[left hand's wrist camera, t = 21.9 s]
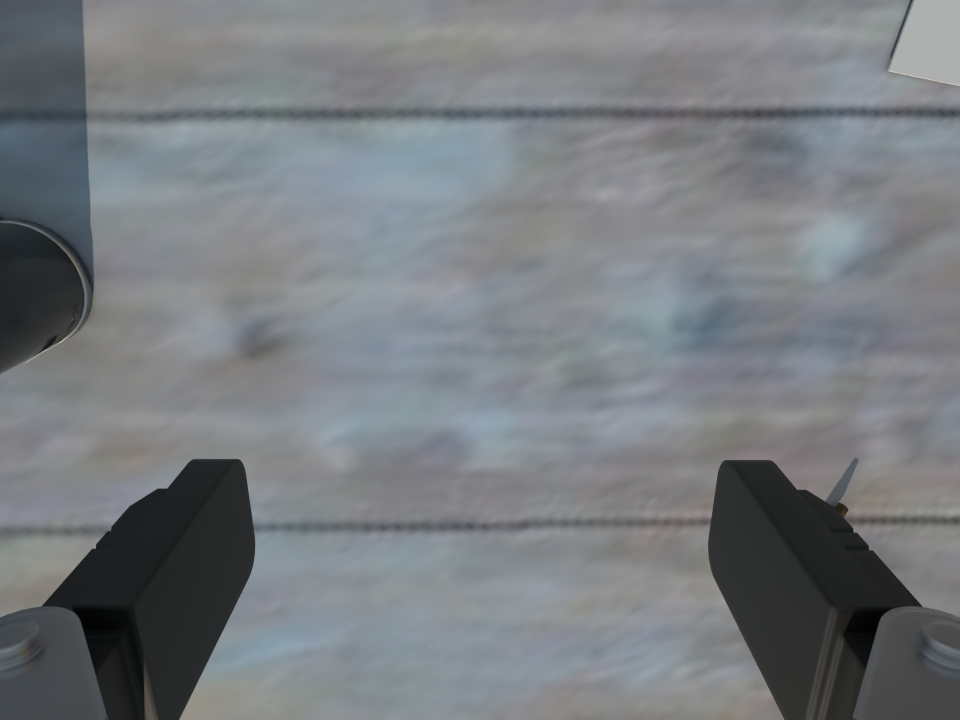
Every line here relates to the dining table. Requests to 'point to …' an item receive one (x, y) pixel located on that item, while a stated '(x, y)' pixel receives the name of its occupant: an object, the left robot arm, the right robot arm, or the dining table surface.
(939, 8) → the invitation card
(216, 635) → the left robot arm
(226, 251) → the dining table surface
